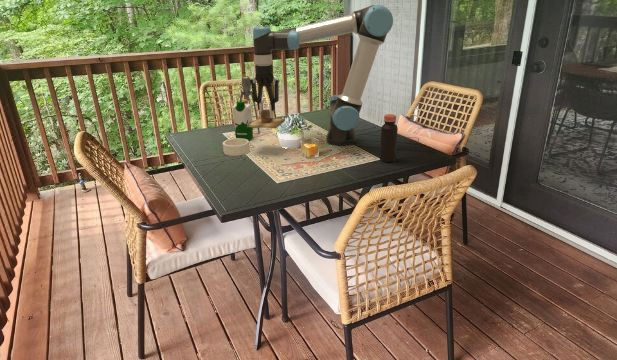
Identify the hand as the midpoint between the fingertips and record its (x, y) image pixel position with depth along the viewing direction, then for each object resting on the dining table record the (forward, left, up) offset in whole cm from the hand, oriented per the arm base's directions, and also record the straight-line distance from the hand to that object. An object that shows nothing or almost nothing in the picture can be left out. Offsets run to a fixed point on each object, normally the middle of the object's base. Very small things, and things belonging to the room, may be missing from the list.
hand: (266, 117), depth 190 cm
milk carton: (+19, -15, -17) cm, 29 cm away
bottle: (-55, 0, -17) cm, 58 cm away
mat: (0, 0, -17) cm, 17 cm away
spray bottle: (+22, -30, -17) cm, 41 cm away
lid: (0, 0, -3) cm, 3 cm away
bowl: (+15, +4, -17) cm, 23 cm away
